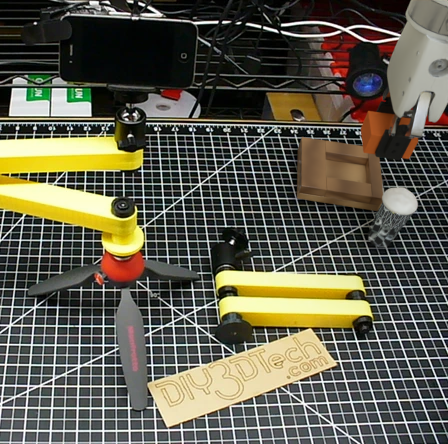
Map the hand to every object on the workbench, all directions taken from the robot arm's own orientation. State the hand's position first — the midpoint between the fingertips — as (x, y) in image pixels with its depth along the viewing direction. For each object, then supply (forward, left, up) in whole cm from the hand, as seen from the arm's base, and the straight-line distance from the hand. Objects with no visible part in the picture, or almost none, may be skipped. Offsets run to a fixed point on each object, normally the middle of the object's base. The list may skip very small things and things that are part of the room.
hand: (385, 141), depth 73 cm
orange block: (0, 0, 0) cm, 0 cm away
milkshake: (-4, +3, -15) cm, 16 cm away
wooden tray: (+2, -8, -15) cm, 17 cm away
